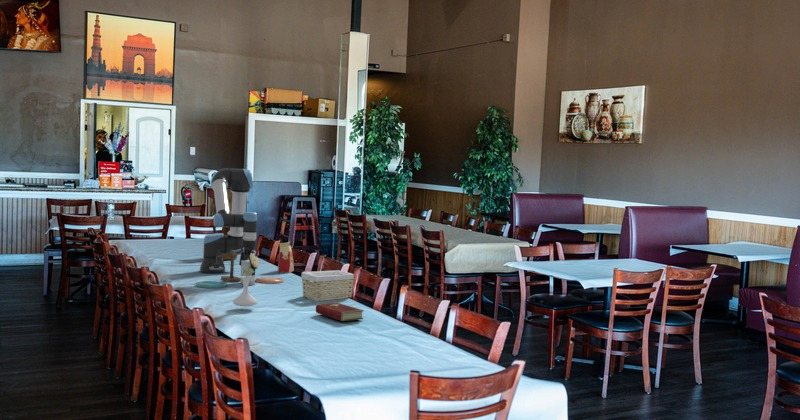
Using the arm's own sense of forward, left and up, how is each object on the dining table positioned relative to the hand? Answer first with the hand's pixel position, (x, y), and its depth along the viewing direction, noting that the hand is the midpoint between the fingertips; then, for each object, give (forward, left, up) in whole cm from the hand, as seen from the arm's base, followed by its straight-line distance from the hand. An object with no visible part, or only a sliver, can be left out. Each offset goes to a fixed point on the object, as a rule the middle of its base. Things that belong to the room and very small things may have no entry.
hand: (247, 279), depth 402 cm
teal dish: (-2, -21, -2) cm, 21 cm away
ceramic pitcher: (-96, +34, -3) cm, 102 cm away
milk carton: (-29, +42, -3) cm, 51 cm away
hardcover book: (+92, -4, -3) cm, 93 cm away
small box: (0, 0, -3) cm, 3 cm away
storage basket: (+50, +19, -5) cm, 54 cm away
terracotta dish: (-3, +16, -2) cm, 16 cm away
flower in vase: (+55, -31, -3) cm, 63 cm away
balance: (-15, -2, -2) cm, 15 cm away
